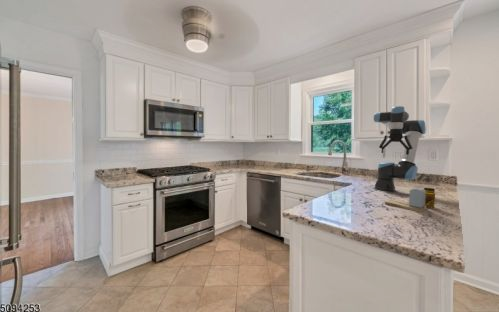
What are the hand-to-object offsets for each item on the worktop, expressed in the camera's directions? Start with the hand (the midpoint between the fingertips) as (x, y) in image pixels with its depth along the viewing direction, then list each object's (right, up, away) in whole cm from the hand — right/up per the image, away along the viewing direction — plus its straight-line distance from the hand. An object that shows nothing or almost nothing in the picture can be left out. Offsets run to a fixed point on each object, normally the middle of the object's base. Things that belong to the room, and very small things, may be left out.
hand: (394, 158), depth 158 cm
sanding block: (-2, -29, -23) cm, 37 cm away
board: (-6, -30, -19) cm, 36 cm away
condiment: (+9, -31, -18) cm, 37 cm away
